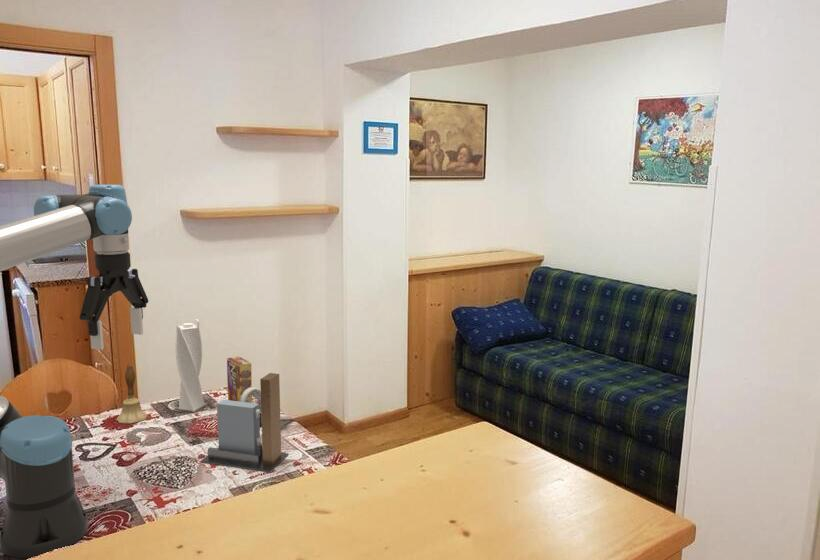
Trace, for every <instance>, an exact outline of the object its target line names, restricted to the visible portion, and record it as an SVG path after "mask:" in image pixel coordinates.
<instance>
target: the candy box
mask: <svg viewBox="0 0 820 560" xmlns="http://www.w3.org/2000/svg"><path fill="white" fill-rule="evenodd" d="M226 368H227V369H226V373H227V379H226V380H227V400H231V401H239V402H240V398H241V395H242V393H243V392H244V391H245V390H246V389H247V388H250V387H253V386H252V384H253V383H252V381H253V379H252V378H253V377H252V362H250V361H249V360H247V359H245V358H243V357H241V356H231V357H227V358H226ZM245 402H248V403H253V394H252V392H251V393H250V394H249V395H248V396H247V398H246V401H245Z"/></svg>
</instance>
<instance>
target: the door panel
mask: <svg viewBox="0 0 820 560" xmlns="http://www.w3.org/2000/svg"><path fill="white" fill-rule="evenodd" d="M216 411H217V412H216V415H217V435H218V437H217V439H218V447H219V449H225V450H232V451H240V452H247V453H254V454H260V456H261V453H260V446H261V444H262V437H261V430H260V429H261V427H260V420H259V418H260V409H259V403H255V402H252V403H248V402H239V401H231V400H228V399H222V400H221V401H219V402H218V403H216Z"/></svg>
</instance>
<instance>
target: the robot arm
mask: <svg viewBox="0 0 820 560" xmlns="http://www.w3.org/2000/svg"><path fill="white" fill-rule="evenodd" d="M132 221H133V214H132V211H131V208H130V206H129V204H128V200H127V193H126V189H125V187H124V186H123V185H122V184H91V185H90V186H89V189H88V193H84V194H50V195H42V196H39V197H38V198H37V199H36V200H35V202H34V205H33V216H29V217H26V218H24V219H23V218H22V219H20V220H17V221H13V222H9V223H7V224H3V225H0V272H3V271H5V270H8V269H11V268H14V267H16V266H19V265H23V264H24V263H28V262H29V261H33V260H36V259H39V258H41V257H44V256H47V255H50V254H53V253H55V252H58V251H61V250H64V249H68V248H69V247H72V246H74V245H79V244H81V243H83V242H87V241H90V240H92V242H93V244H92V245H93V251H94V252H96V253H94V255H93V256H94V268H95V269H96V270H97V271H98V276H88V277H87V288H86V292H85V296H84V300H83V304H82V307H81V309H80V314H79V320H80V321H83V322H87V327H88V335H89V336H90V348H91V349H92V350H93V349H94V350H101V351H102V350H104V347H105V346H104V335H103V334H104V333H103V332H104V331H103V322H102V320H100V318H101V315H102V313H103V311H104V308H105V307H106V305H107V303H108V300H109V298H110V297H111V296H113V294H114V293H118V292H120V293H122V294H123V296H124V297H125V299H126V300H127V301H128V302H129V303H130V305H131V306H132V307H130V309H129V310H130V312H129V313H130V326H131V327H130V330H131V335H144V327H143V324H144V323H143V318H144V312H143V310H144V309H145V308H147V304H149V298H148V296H147V294H146V291H145V289H144V287H143V285H142V282H141V280H140V278H139V270H138V269H137V268H131V265H132V264H131V253H130V252H129V251H130V241H129V240H130V239H129V238H130V237H129V228H130V226H131V224H132ZM143 308H144V309H143ZM0 479H1V480H3V481H4V485H5V494H6V504H7V505H6V506H7V509H6V513H5V517H4V521H3V527H2V529H1V531H0V549H1V551H2V553H4V554H5V555H6V556H9V557H11V558H17V559H31V558H30V557H33V556H38V555H40V554H43V553H46V552H49V551H52V550H54V549H58V548H62V547H65V546H69V545H71V546H72V544H73V545H74V544H76V543H77V542H78V541H80V540H81V539H82V538H83V537H84V536H86V533H87V532H88V529H89V520H88V515H87V512H86V511H85V509H84V508H83V507H84V506H83V505H82V503H81V500H80V499H79V497H78V495H77V493H76V484H75V472H74V457H73V437H72V435H71V431H70V427H69V425H68V424H67V422H65V420H63V419H62V418H60V417H57V416H54V415H45V416H43V415H41V414H36V415H27V416H23V415H22V414H21V413H20V412H19V411H18V410H17V408H15V406H14V405H13V404H12V403H11V402H10V400H9V399H8V398H7V397H5V396H2V395H0ZM69 547H70V546H69ZM33 558H34V557H33Z"/></svg>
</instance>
